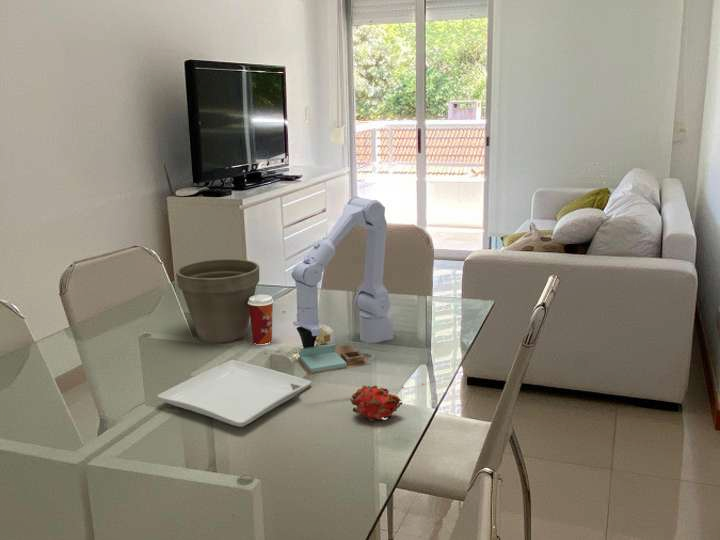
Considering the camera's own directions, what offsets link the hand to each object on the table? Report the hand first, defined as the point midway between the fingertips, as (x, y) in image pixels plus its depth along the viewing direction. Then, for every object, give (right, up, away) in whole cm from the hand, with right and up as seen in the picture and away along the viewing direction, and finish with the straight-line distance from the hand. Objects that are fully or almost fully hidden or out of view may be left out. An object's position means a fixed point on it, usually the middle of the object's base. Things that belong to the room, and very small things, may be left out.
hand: (308, 352), depth 195 cm
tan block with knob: (+3, 0, +11) cm, 12 cm away
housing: (+6, -3, -1) cm, 7 cm away
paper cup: (-15, +1, +16) cm, 22 cm away
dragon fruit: (+18, -12, -32) cm, 38 cm away
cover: (+4, -3, -4) cm, 7 cm away
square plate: (-16, -10, -22) cm, 29 cm away
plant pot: (-29, +3, +22) cm, 36 cm away
